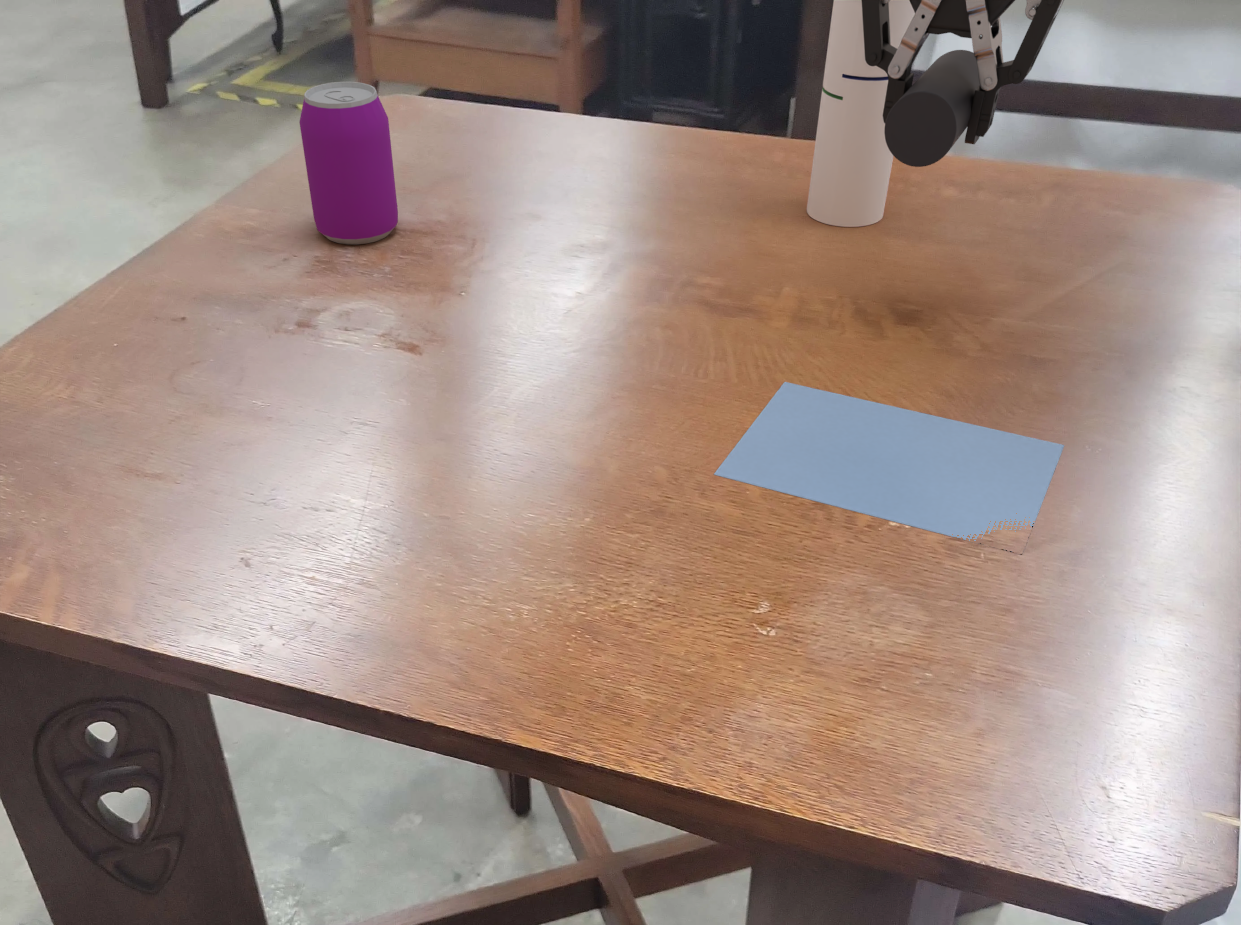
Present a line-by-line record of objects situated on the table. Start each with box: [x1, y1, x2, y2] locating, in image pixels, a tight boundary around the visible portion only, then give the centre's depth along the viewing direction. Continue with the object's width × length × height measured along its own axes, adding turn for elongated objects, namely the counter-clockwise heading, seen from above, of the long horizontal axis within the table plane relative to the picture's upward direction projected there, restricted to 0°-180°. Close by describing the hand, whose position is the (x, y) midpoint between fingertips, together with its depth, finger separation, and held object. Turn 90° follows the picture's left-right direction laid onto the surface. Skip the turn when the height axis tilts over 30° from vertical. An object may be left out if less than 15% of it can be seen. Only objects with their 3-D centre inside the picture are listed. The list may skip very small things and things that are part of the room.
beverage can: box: [299, 81, 399, 245], centre depth 106 cm, size 8×8×12 cm
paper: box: [713, 381, 1065, 542], centre depth 80 cm, size 20×14×1 cm
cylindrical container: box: [806, 0, 915, 228], centre depth 103 cm, size 7×7×25 cm
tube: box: [884, 49, 980, 168], centre depth 86 cm, size 11×5×5 cm, turn 153°
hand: (933, 134), depth 88 cm, fingers closed on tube, 5 cm apart
